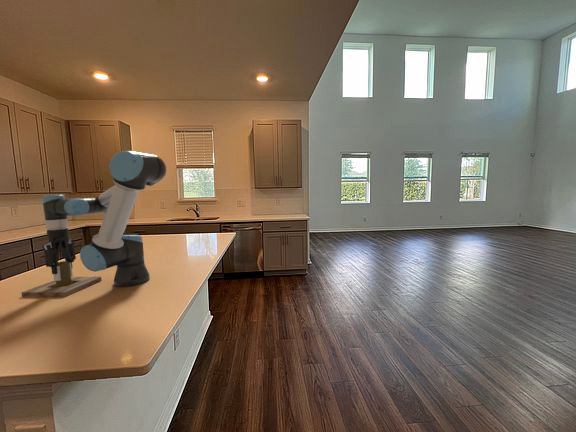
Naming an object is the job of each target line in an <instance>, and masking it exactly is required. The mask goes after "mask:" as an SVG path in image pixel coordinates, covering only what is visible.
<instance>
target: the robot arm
mask: <svg viewBox="0 0 576 432" xmlns="http://www.w3.org/2000/svg"><path fill="white" fill-rule="evenodd" d="M108 166H109V173H110V175H111V176H112V181H113V183H114V184H115V185H113V186H111V187H109V188H108V189H106V190H104V192H102V193H100V194H98V195H97V196H95V197H82V198H81V197H80V198H79V197H78V198H77V197H76V198H65V197H66V196H65V195H64V194H45V195H43V196H42V207H43V213H44V219H45V229H47V230H46V237H47V238H48V243H47V244H43V245H42V249H43V251H44V252H43V253H44V260H45V261H44V262H45V267H46V268H50V269H51V274H52V275H53V281H60V280H61V274H60V266H58V262H59V258H60V257H59V256H60V252H61V253H62V256H63V258H64V260H65V261H67V262H68V263H69V267H68V269H69V273H70V276H71V277H74V276H73V263H74V262H75V260H76V259H77V258H76V250H75V249H76V248H75V239H73V238H71V239H70V238H69V236H70V231H69V228H68V227H69V224H68V223H69V222H68V216H74V217H77V216H79V217H80V216H84V215H92V214H100V213H101V214H103V213H104V216H103V218H102V219H103V220H102V222H101V226H100V228H99V231H98V233H97V234H94V235H93V236H92V239H91V241H90V242H89V244H87V245H85V246H83V247H81V249H80V252H79V258H80V261H81V263H82V264H83V266H84V267H85V268H86V269H87V270H89V271H90V272H101V271H105V270H107V269H111V268H113V267H116V271H115V274H114V278H113V285H114V286H115V287H132V286H136V285H140V284H143V283H146V282H147V281H149V280H150V278H151V277H150V272H149V270H148V268H147V266H146V263H145V254H144V242H143V237H142V235H139V234H124V233H125V231H126V228H127V225H128V223H129V221H130V220H129V219H130V217H131V214H132V211H133V208H134V206H135V204H136V200H137V198H138V195H139V192H141V191H143V190H145V189H146V187H152V186H154V185H155V184H157V183H159V182H161V181H162V180H163V179H164V178H165V176H166V173H167V166H166V163H165V161H164V160H163V158H161V157H160V156H158V155H156V154H151V153H144V152H137V151H135V150H121V151H117V153H115V154H114V155H113V156H112V157H111V159H110V162H109V165H108Z"/></svg>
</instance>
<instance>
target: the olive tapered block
mask: <svg viewBox="0 0 576 432" xmlns="http://www.w3.org/2000/svg"><path fill="white" fill-rule="evenodd" d="M58 266H60V274H61V280H60V281H56V287H57V288H64V287H67V286H69V285H72V284H73V283H72V279H71V277H72V276H70V273H69V269H68V267H69V263H68V262H67V261H58Z"/></svg>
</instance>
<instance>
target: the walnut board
mask: <svg viewBox="0 0 576 432" xmlns="http://www.w3.org/2000/svg"><path fill="white" fill-rule="evenodd" d="M71 279H72V283H73V284H72V285H69V286H65V287H56V281H54V280H51V281H49V282H48V281H47V282H46V283H43V284H40V285H37V286H35V287H32V288H30V289H27V290H24V291H21V297H23V298H25V297H26V298H29V297H31V298H34V297H35V298H37V297H38V298H41V297H42V298H66V297H69V296H70V295H73V294H75V293H76V292H79V291H81V290H83V289H86V288H88V287H90V286H92V285H95V284H98V283H99V282H102V280H103V279H102V276H71Z"/></svg>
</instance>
